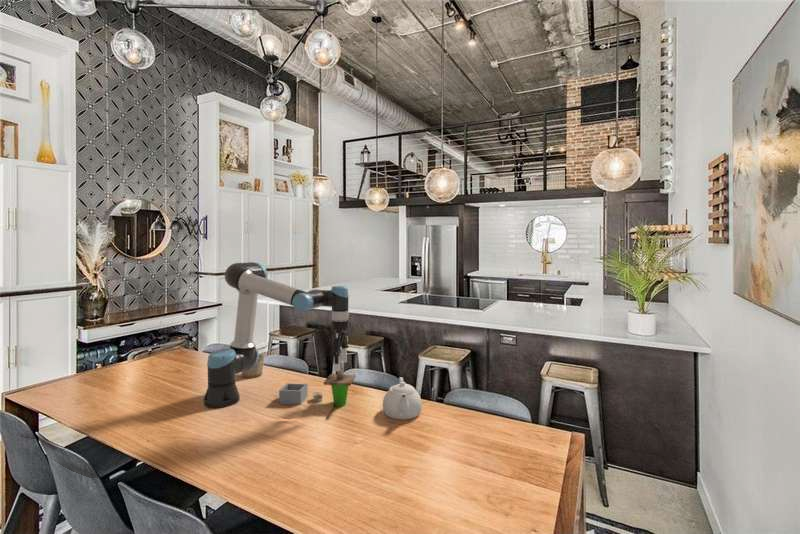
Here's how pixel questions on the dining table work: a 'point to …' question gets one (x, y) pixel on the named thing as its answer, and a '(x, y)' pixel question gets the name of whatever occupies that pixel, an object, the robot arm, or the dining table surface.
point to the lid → (340, 377)
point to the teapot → (402, 401)
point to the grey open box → (293, 393)
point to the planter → (255, 369)
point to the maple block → (317, 396)
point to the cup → (339, 394)
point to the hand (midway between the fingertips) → (340, 366)
